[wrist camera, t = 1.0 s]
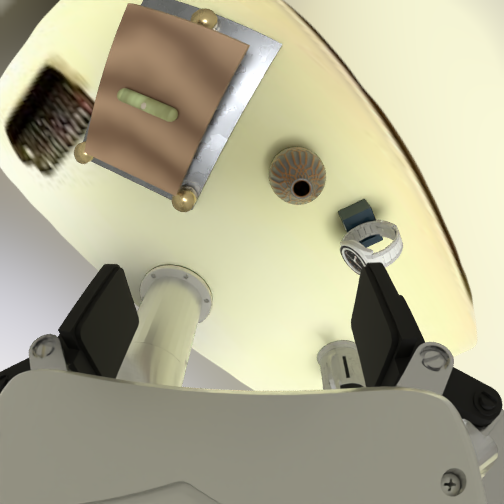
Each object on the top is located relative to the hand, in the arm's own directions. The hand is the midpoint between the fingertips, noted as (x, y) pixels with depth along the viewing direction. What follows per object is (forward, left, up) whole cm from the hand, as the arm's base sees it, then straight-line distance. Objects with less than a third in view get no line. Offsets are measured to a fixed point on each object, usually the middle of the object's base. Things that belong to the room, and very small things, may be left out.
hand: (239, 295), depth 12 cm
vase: (-1, -6, -31) cm, 32 cm away
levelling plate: (0, +13, -25) cm, 28 cm away
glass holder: (-26, -31, -31) cm, 51 cm away
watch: (-3, -18, -31) cm, 36 cm away
